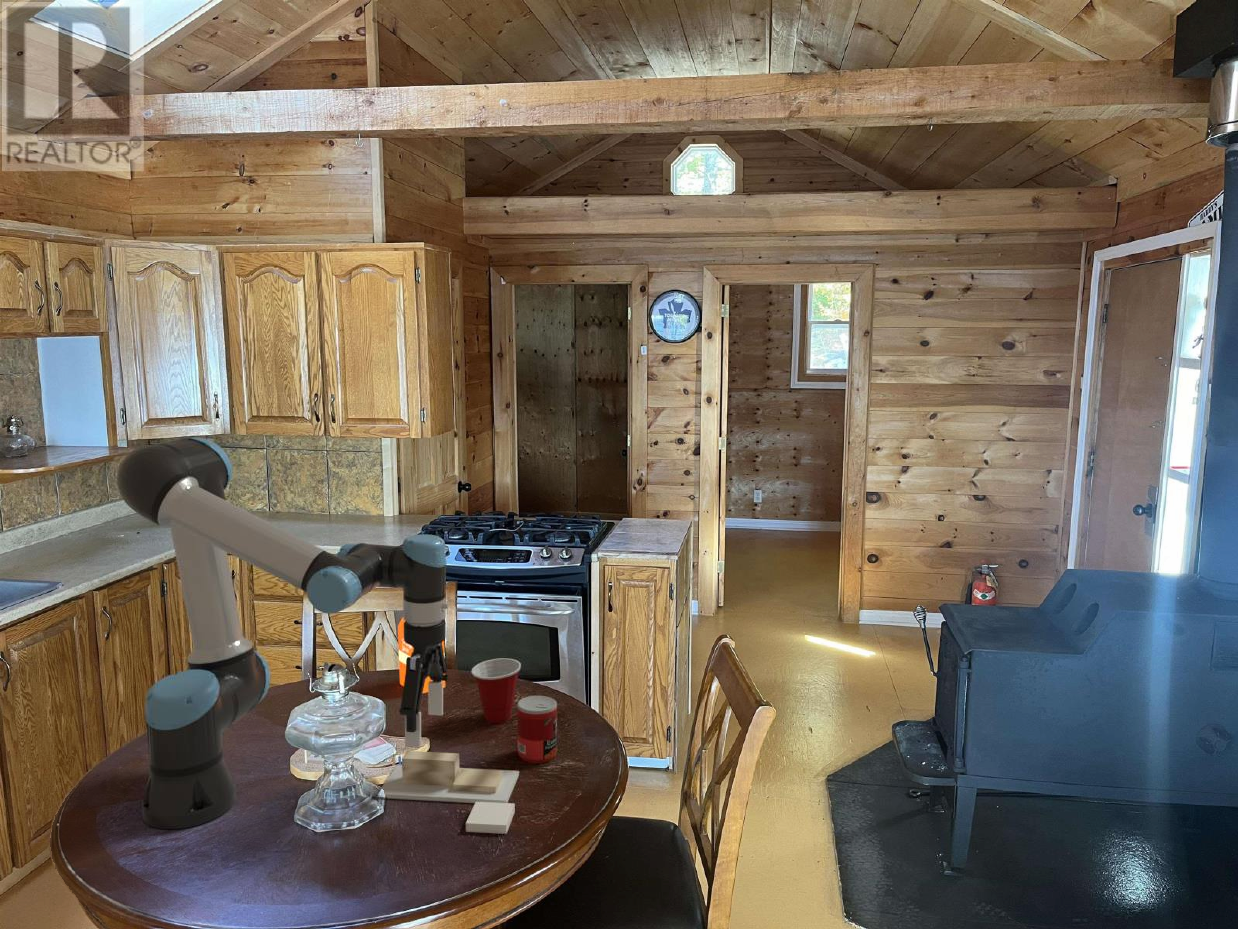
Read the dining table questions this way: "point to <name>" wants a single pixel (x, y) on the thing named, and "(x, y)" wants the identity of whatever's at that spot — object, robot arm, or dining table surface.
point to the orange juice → (406, 652)
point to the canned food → (537, 729)
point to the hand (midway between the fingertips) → (424, 730)
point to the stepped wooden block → (447, 772)
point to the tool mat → (447, 789)
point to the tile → (490, 817)
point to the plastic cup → (497, 687)
